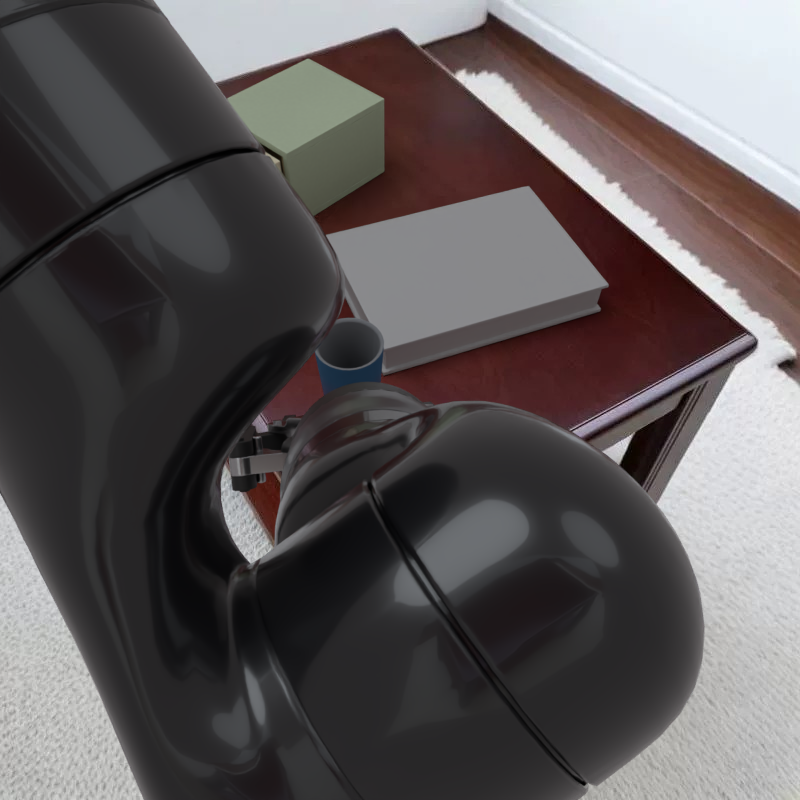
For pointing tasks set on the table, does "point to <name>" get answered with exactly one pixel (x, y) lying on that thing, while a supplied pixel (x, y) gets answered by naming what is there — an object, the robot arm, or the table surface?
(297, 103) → the cabinet
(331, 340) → the cup
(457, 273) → the book
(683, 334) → the table surface
